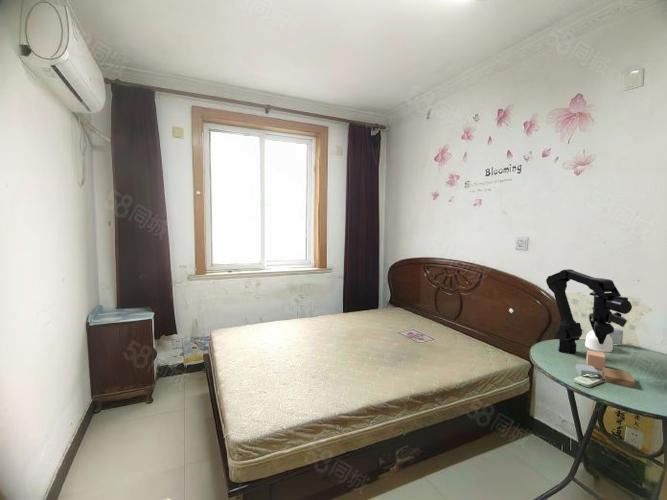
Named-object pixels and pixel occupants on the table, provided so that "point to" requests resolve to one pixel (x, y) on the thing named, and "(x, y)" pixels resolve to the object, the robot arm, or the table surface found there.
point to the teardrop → (594, 343)
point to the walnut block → (618, 377)
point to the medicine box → (617, 336)
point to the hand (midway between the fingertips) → (599, 340)
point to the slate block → (586, 369)
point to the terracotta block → (595, 359)
